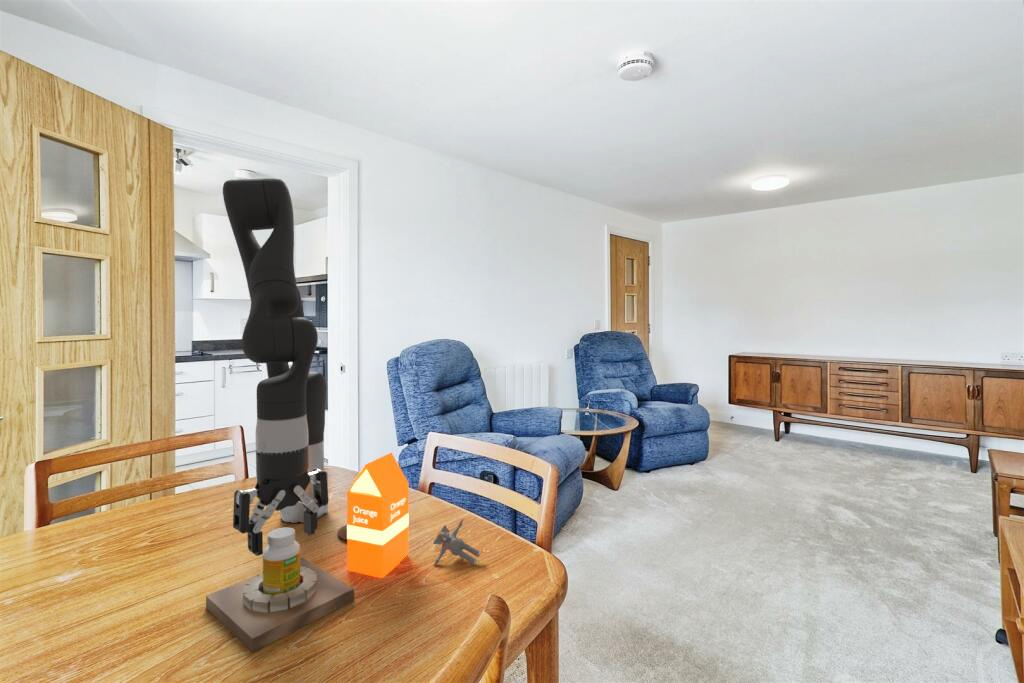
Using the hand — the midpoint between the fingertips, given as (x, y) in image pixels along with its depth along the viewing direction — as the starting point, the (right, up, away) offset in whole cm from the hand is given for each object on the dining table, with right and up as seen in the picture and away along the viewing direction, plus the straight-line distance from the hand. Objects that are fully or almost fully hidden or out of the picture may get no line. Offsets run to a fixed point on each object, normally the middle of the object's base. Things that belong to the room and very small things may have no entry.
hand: (284, 543), depth 78 cm
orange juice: (+11, -10, +14) cm, 20 cm away
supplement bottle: (0, -8, 0) cm, 8 cm away
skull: (+5, -9, +27) cm, 29 cm away
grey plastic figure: (+26, -10, +16) cm, 32 cm away
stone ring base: (-1, -10, 0) cm, 10 cm away
